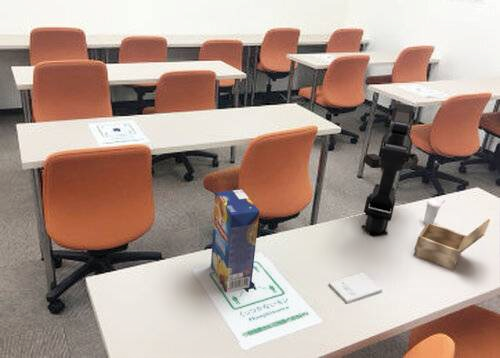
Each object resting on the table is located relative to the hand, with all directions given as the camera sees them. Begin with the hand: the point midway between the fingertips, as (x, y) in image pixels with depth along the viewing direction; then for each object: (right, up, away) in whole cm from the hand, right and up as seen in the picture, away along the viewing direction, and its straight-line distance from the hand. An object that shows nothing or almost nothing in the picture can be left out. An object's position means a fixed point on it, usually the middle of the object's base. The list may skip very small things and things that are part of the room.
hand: (385, 181), depth 162 cm
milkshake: (+16, -15, +3) cm, 22 cm away
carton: (+12, -23, -15) cm, 30 cm away
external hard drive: (-19, -30, -33) cm, 49 cm away
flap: (+20, -16, -24) cm, 35 cm away
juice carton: (-53, -26, -33) cm, 68 cm away
